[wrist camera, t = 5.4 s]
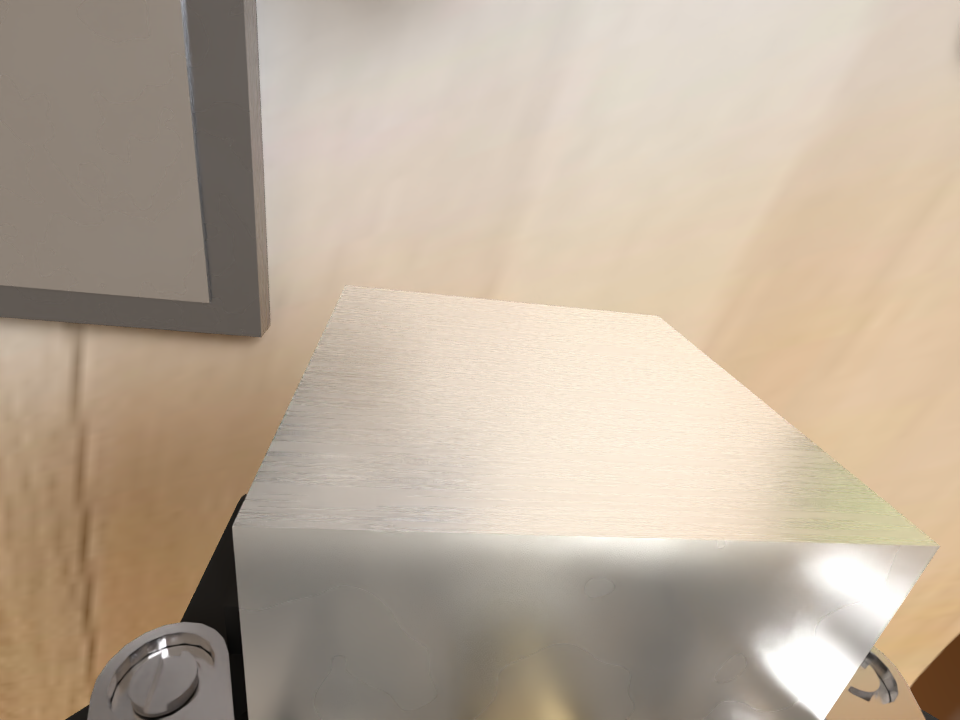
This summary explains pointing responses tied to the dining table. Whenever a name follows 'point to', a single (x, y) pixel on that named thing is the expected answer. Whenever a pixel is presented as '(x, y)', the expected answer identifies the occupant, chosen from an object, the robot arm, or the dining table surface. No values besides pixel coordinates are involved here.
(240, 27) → the press bed
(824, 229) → the dining table surface
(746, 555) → the block
